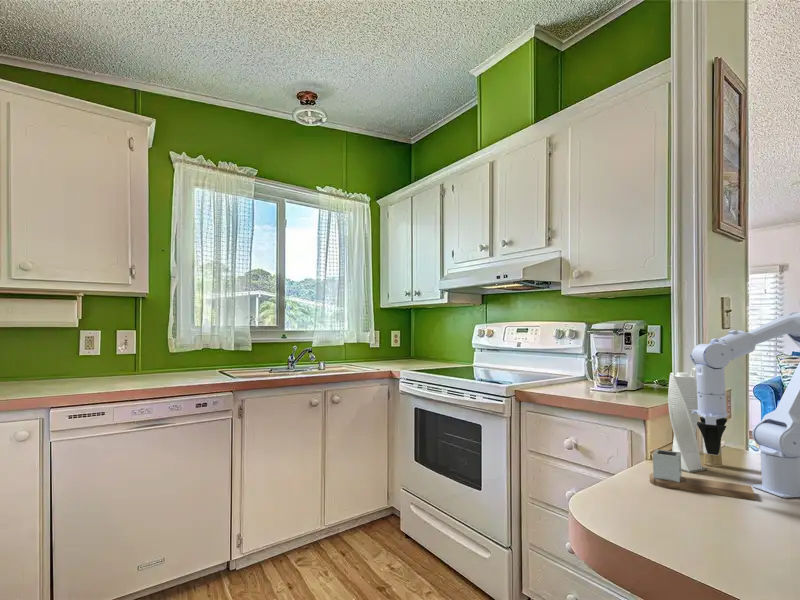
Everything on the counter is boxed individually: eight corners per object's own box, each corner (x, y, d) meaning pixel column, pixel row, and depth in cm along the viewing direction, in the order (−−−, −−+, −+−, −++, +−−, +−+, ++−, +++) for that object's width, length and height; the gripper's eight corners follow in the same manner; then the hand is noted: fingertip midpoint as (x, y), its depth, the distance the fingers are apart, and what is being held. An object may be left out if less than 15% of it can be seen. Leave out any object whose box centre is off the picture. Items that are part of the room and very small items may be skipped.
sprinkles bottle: (725, 465, 131) (723, 417, 132) (718, 468, 128) (716, 419, 129) (707, 462, 135) (705, 415, 136) (700, 464, 132) (698, 416, 133)
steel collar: (656, 472, 120) (655, 449, 120) (681, 476, 116) (680, 452, 117) (653, 478, 115) (652, 453, 115) (679, 482, 112) (678, 457, 112)
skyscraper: (711, 471, 126) (707, 367, 128) (691, 474, 123) (687, 368, 125) (682, 463, 134) (678, 365, 135) (662, 466, 130) (659, 366, 132)
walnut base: (750, 491, 110) (749, 471, 111) (755, 501, 103) (754, 481, 104) (650, 476, 121) (650, 459, 121) (648, 485, 114) (648, 466, 115)
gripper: (693, 389, 120) (696, 442, 119) (689, 395, 108) (691, 454, 107) (727, 391, 116) (729, 446, 115) (725, 398, 104) (728, 459, 103)
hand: (713, 450), depth 111 cm, fingers open, 7 cm apart
